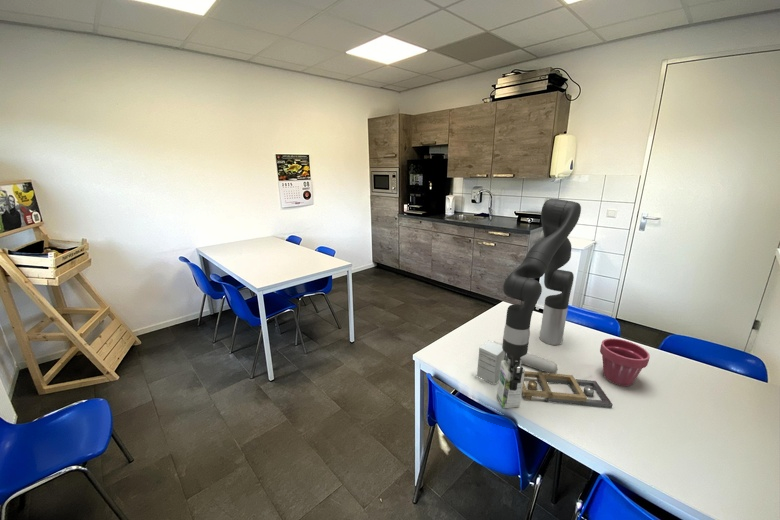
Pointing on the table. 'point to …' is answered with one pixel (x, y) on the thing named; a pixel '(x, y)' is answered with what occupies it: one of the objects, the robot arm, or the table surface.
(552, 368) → the tube
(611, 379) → the plant pot
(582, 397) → the tan wooden frame
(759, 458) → the table surface
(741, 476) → the table surface
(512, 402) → the syrup box
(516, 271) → the robot arm
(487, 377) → the supplement box
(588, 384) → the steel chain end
